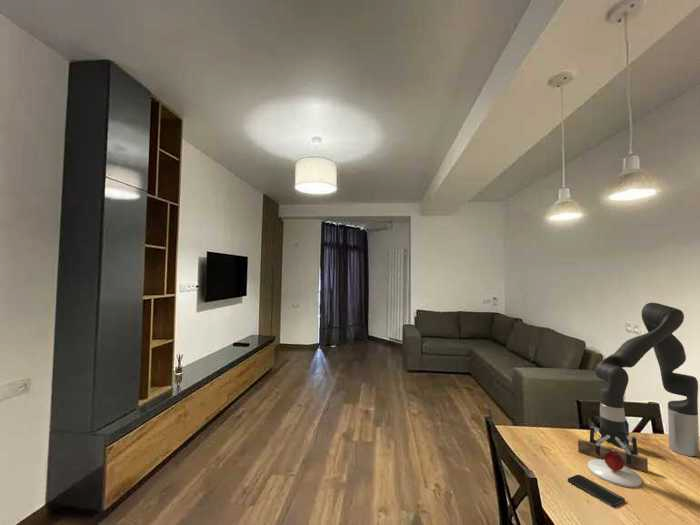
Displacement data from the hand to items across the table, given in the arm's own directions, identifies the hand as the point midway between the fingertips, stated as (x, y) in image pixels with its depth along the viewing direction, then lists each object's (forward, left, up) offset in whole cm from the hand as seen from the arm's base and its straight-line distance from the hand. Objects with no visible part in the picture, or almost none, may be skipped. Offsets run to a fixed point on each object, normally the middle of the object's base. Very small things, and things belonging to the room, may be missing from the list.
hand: (613, 459), depth 123 cm
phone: (+18, +3, -6) cm, 19 cm away
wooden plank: (-9, -5, -5) cm, 12 cm away
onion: (0, 0, -5) cm, 5 cm away
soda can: (-28, -10, -6) cm, 30 cm away
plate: (0, 0, -5) cm, 5 cm away
